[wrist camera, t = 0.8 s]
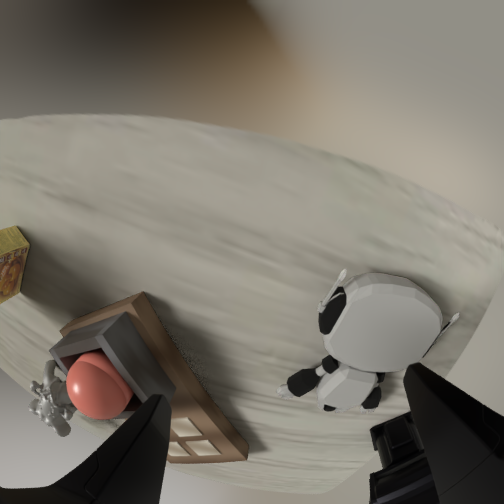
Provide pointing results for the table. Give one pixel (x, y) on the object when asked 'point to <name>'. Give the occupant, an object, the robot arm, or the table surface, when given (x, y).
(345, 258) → the table surface
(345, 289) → the robot toy
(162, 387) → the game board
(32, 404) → the elephant statuette
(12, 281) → the candy box
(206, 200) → the table surface
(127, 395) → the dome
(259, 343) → the table surface
